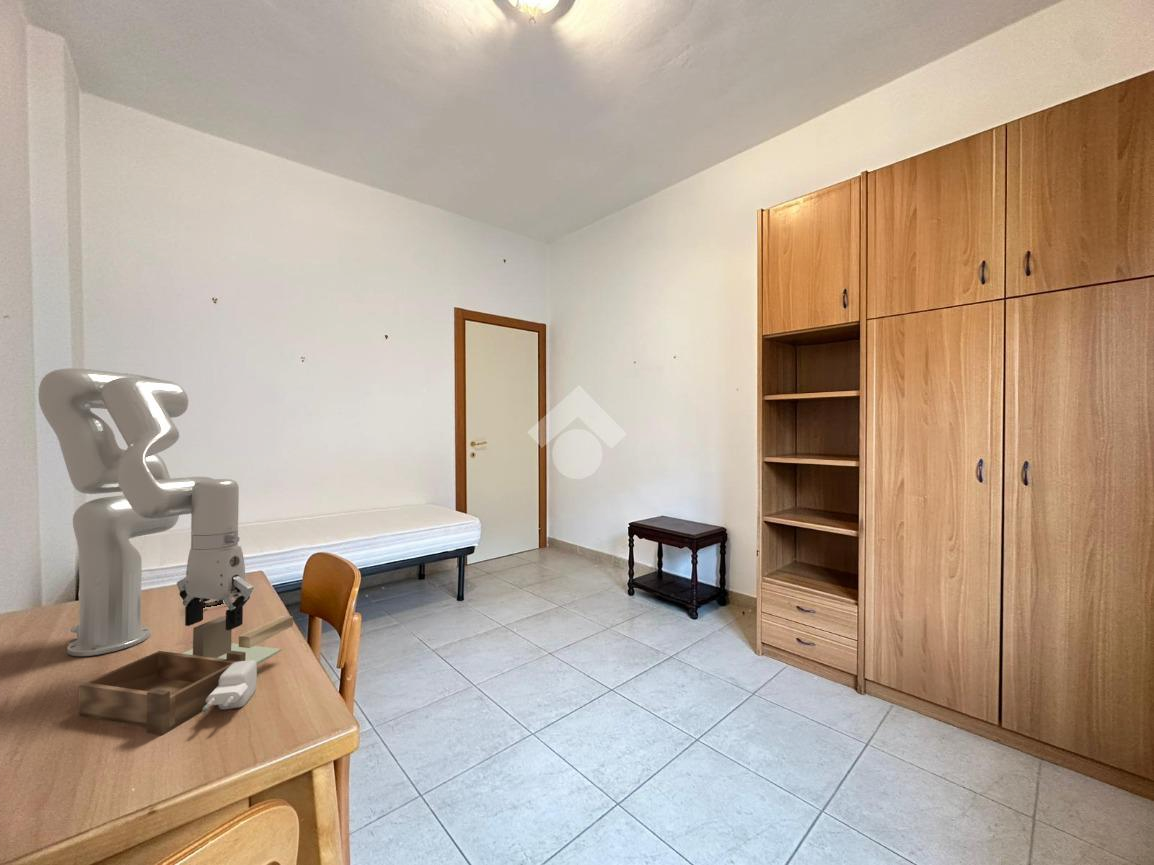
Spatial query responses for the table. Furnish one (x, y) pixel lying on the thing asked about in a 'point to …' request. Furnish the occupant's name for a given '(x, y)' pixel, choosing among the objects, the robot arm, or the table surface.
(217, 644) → the lid
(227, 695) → the power adapter
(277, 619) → the tan rectangular block
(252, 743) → the table surface
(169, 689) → the brown wooden open box
